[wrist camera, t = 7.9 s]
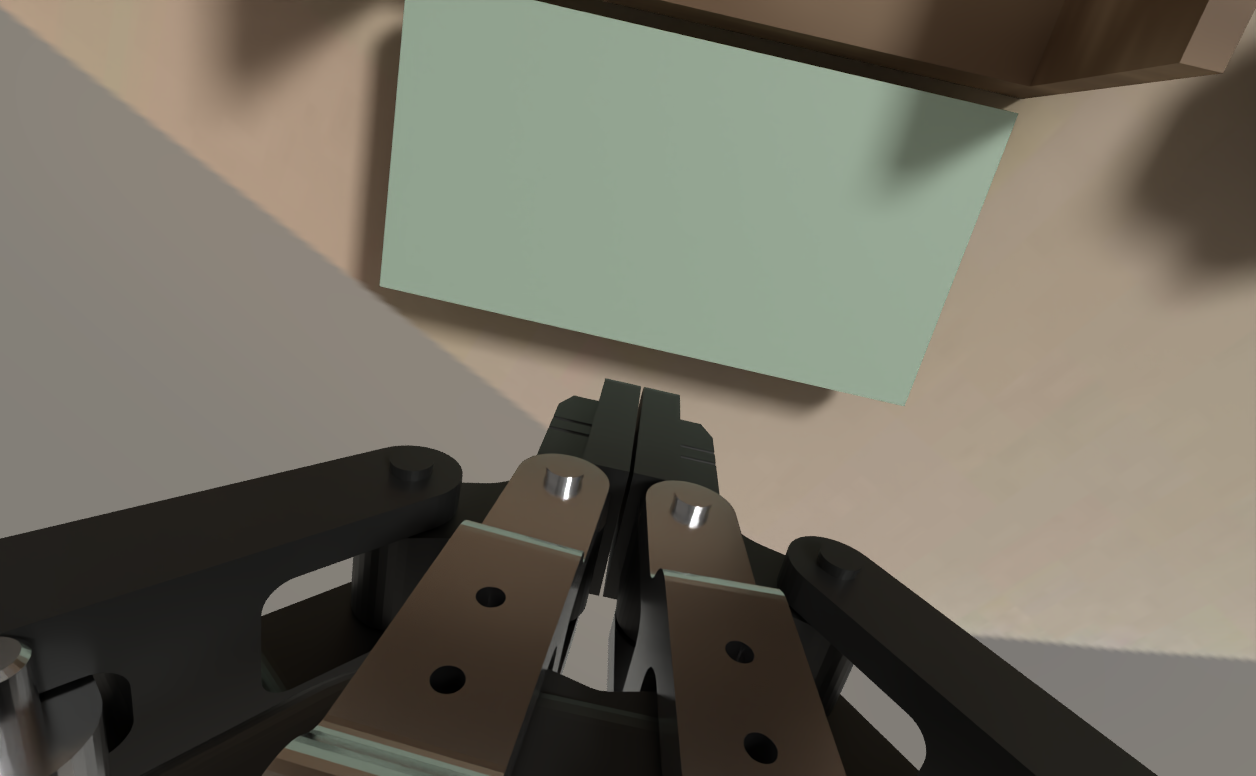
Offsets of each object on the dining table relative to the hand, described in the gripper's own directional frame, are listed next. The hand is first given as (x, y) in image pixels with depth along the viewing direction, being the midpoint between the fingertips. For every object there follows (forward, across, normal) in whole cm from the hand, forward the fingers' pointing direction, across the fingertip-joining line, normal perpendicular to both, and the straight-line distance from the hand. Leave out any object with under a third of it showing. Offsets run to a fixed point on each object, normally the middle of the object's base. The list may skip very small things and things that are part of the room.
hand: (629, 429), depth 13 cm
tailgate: (+12, 0, -8) cm, 14 cm away
